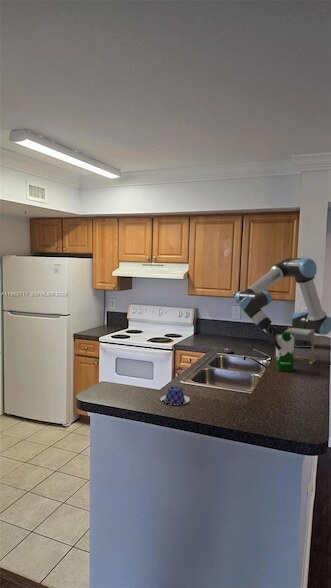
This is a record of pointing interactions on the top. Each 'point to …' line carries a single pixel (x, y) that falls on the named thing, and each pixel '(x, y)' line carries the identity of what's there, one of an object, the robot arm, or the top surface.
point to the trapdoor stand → (311, 349)
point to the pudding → (175, 395)
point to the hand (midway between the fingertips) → (289, 351)
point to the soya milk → (287, 360)
